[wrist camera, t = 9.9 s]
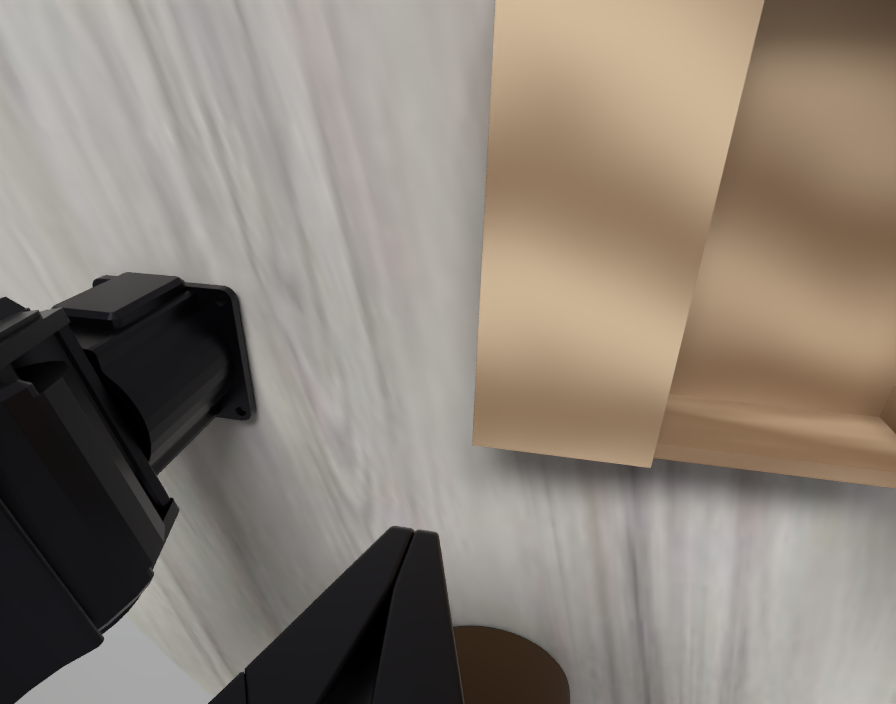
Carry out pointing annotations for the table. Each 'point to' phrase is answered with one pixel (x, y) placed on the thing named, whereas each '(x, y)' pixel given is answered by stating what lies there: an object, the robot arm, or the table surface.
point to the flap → (599, 213)
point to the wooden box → (800, 260)
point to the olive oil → (507, 669)
